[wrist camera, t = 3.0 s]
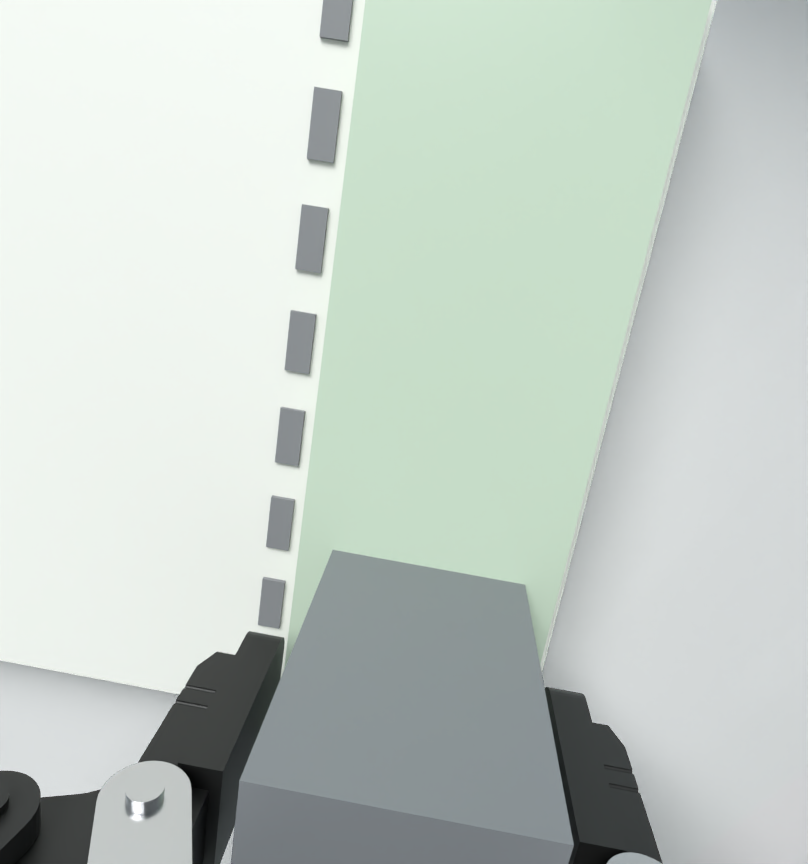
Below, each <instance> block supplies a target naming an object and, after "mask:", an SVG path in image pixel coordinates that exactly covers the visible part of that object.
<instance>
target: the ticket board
mask: <svg viewBox="0 0 808 864" xmlns="http://www.w3.org/2000/svg"><path fill="white" fill-rule="evenodd" d="M716 3H717V0H712V2H711V5H710V9H709V13H708V17H707V21H706V25H705V29H704V33H703V36H702V40H701V44H700V48H699V52H698V56H697V60H696V63H695V67H694V71H693V75H692V79H691V83H690V87H689V91H688V94H687V98H686V102H685V106H684V110H683V114H682V118H681V122H680V125H679V129H678V133H677V137H676V141H675V145H674V149H673V152H672V156H671V160H670V164H669V168H668V172H667V176H666V180H665V183H664V187H663V191H662V195H661V199H660V203H659V207H658V211H657V214H656V218H655V222H654V226H653V230H652V234H651V238H650V241H649V245H648V249H647V253H646V257H645V261H644V265H643V269H642V272H641V276H640V280H639V284H638V288H637V292H636V296H635V300H634V303H633V307H632V311H631V315H630V319H629V323H628V327H627V330H626V334H625V338H624V342H623V346H622V350H621V354H620V358H619V361H618V365H617V369H616V373H615V377H614V381H613V385H612V389H611V392H610V396H609V400H608V404H607V408H606V412H605V416H604V419H603V423H602V427H601V431H600V435H599V439H598V443H597V447H596V450H595V454H594V458H593V462H592V466H591V470H590V474H589V478H588V481H587V485H586V489H585V493H584V497H583V501H582V505H581V508H580V512H579V516H578V520H577V524H576V528H575V532H574V536H573V539H572V543H571V547H570V551H569V555H568V559H567V563H566V567H565V570H564V574H563V578H562V582H561V586H560V590H559V594H558V597H557V601H556V605H555V609H554V613H553V617H552V621H551V625H550V628H549V632H548V636H547V640H546V644H545V648H544V652H543V656H542V659H541V663H540V667H541V672H542V671H543V667H544V663H545V659H546V655H547V652H548V648H549V644H550V640H551V636H552V632H553V629H554V625H555V621H556V617H557V613H558V609H559V606H560V602H561V598H562V594H563V590H564V586H565V583H566V579H567V575H568V571H569V567H570V563H571V559H572V556H573V552H574V548H575V544H576V540H577V536H578V533H579V529H580V525H581V521H582V517H583V513H584V510H585V506H586V502H587V498H588V494H589V490H590V487H591V483H592V479H593V475H594V471H595V467H596V464H597V460H598V456H599V452H600V448H601V444H602V441H603V437H604V433H605V429H606V425H607V421H608V417H609V414H610V410H611V406H612V402H613V398H614V394H615V391H616V387H617V383H618V379H619V375H620V371H621V368H622V364H623V360H624V356H625V352H626V348H627V345H628V341H629V337H630V333H631V329H632V325H633V322H634V318H635V314H636V310H637V306H638V302H639V299H640V295H641V291H642V287H643V283H644V279H645V275H646V272H647V268H648V264H649V260H650V256H651V252H652V249H653V245H654V241H655V237H656V233H657V229H658V226H659V222H660V218H661V214H662V210H663V206H664V203H665V199H666V195H667V191H668V187H669V183H670V180H671V176H672V172H673V168H674V164H675V160H676V157H677V153H678V149H679V145H680V141H681V137H682V133H683V130H684V126H685V122H686V118H687V114H688V110H689V107H690V103H691V99H692V95H693V91H694V87H695V84H696V80H697V76H698V72H699V68H700V64H701V61H702V57H703V53H704V49H705V45H706V41H707V38H708V34H709V30H710V26H711V22H712V18H713V14H714V11H715V7H716ZM364 7H365V0H0V661H6V662H11V663H16V664H22V665H27V666H32V667H37V668H43V669H48V670H53V671H58V672H64V673H69V674H74V675H79V676H85V677H90V678H95V679H100V680H106V681H111V682H116V683H121V684H127V685H132V686H137V687H143V688H148V689H153V690H158V691H164V692H169V693H174V694H179V695H180V693H181V691H182V690H183V688H185V686H186V683H187V681H188V680H189V678H190V677H191V675H192V673H193V672H194V670H195V668H196V667H197V665H199V664H200V663H202V662H203V661H204V660H206V659H207V658H209V657H210V656H211V655H213V654H214V653H216V652H222V653H228V654H233V655H235V654H236V653H237V651H238V649H239V647H240V645H241V643H242V641H243V640H244V638H245V636H246V634H247V633H248V632H249V631H252V632H257V633H262V634H268V635H273V636H279V637H284V640H285V643H284V653H283V662H282V670H281V676H282V674H283V671H284V666H285V658H286V650H287V641H288V633H289V625H290V617H291V608H292V600H293V592H294V584H295V575H296V567H297V559H298V551H299V543H300V534H301V526H302V518H303V510H304V501H305V493H306V485H307V477H308V468H309V460H310V452H311V444H312V436H313V427H314V419H315V411H316V403H317V394H318V386H319V378H320V370H321V361H322V353H323V345H324V337H325V328H326V320H327V312H328V304H329V296H330V287H331V279H332V271H333V263H334V254H335V246H336V238H337V230H338V221H339V213H340V205H341V197H342V189H343V180H344V172H345V164H346V156H347V147H348V139H349V131H350V123H351V114H352V106H353V98H354V90H355V82H356V73H357V65H358V57H359V49H360V40H361V32H362V24H363V16H364ZM280 679H281V678H280Z"/></svg>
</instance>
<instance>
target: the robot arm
mask: <svg viewBox="0 0 808 864" xmlns="http://www.w3.org/2000/svg"><path fill="white" fill-rule="evenodd" d="M284 643H285V640H284V637H279V636H273V635H268V634H262V633H257V632H252V631H249V632H248V633H247V634H246V636H245V638H244V640H243V641H242V643H241V645H240V647H239V649H238V651H237V653H236V654H235V655H233V654H228V653H222V652H216V653H214V654H213V655H211V656H210V657H209V658H207V659H206V660H204V661H203V662H202V663H200V664H199V665H197V667H196V668H195V670H194V672H193V673H192V675H191V677H190V678H189V680H188V681H187V683H186V686H185V688H183V690H182V691H181V693H180V695H179V696H178V698H177V699H176V703H175V704H173V706H172V708H171V709H170V711H169V713H168V714H167V716H166V718H165V719H164V721H163V722H162V724H161V726H160V727H159V729H158V731H157V732H156V734H155V736H154V737H153V739H152V740H151V742H150V744H149V745H148V747H147V749H146V750H145V752H144V754H143V755H142V757H141V759H140V760H139V762H138V763H136V764H132V765H130V766H128V767H125V768H123V769H122V770H120V771H118V772H117V773H115V774H114V775H113V776H111V777H110V778H109V779H108V780H107V781H106V783H105V784H104V785H103V787H102V788H101V789H100V790H97V791H93V792H89V793H84V794H76V795H65V796H53V797H42V798H40V789H39V786H38V785H37V783H36V782H35V781H34V780H33V779H32V778H31V777H29V776H28V775H26V774H23V773H20V772H15V771H0V864H220V862H221V859H222V857H223V854H224V852H225V849H226V846H227V844H228V841H229V838H230V836H231V833H232V831H233V828H234V825H235V819H236V809H237V799H238V790H239V780H240V778H241V775H242V773H243V771H244V768H245V766H246V763H247V761H248V758H249V756H250V753H251V751H252V748H253V746H254V743H255V741H256V738H257V736H258V733H259V731H260V728H261V726H262V723H263V721H264V719H265V716H266V714H267V711H268V709H269V706H270V704H271V701H272V699H273V696H274V694H275V691H276V689H277V686H278V684H279V681H280V678H281V670H282V662H283V653H284ZM545 694H546V699H547V704H548V710H549V715H550V720H551V726H552V731H553V736H554V742H555V747H556V752H557V758H558V763H559V768H560V774H561V779H562V785H563V790H564V795H565V801H566V806H567V811H568V817H569V822H570V827H571V833H572V838H573V843H574V847H573V850H572V853H571V856H570V860H569V863H568V864H663V863H662V860H661V857H660V854H659V851H658V848H657V845H656V842H655V839H654V835H653V832H652V829H651V826H650V823H649V820H648V817H647V814H646V811H645V808H644V804H643V801H642V798H641V795H640V793H638V786H637V783H636V780H635V777H634V774H632V767H631V764H630V761H629V758H628V755H627V752H626V749H625V747H624V745H623V744H622V743H621V741H620V740H619V739H618V738H617V736H616V735H615V734H614V732H613V731H612V730H611V729H610V727H609V726H608V725H602V724H597V723H592V720H591V716H590V713H589V709H588V705H587V702H586V698H585V696H584V695H583V694H581V693H576V692H570V691H565V690H559V689H554V688H549V687H546V688H545Z"/></svg>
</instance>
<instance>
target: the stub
mask: <svg viewBox="0 0 808 864" xmlns="http://www.w3.org/2000/svg"><path fill="white" fill-rule="evenodd" d="M711 2H712V0H365V7H364V16H363V24H362V32H361V40H360V49H359V57H358V65H357V73H356V82H355V90H354V98H353V106H352V114H351V123H350V131H349V139H348V147H347V156H346V164H345V172H344V180H343V189H342V197H341V205H340V213H339V221H338V230H337V238H336V246H335V254H334V263H333V271H332V279H331V287H330V296H329V304H328V312H327V320H326V328H325V337H324V345H323V353H322V361H321V370H320V378H319V386H318V394H317V403H316V411H315V419H314V427H313V436H312V444H311V452H310V460H309V468H308V477H307V485H306V493H305V501H304V510H303V518H302V526H301V534H300V543H299V551H298V559H297V567H296V575H295V584H294V592H293V600H292V608H291V617H290V625H289V633H288V641H287V650H286V658H285V666H284V671H283V674H282V676H281V679H280V681H279V684H278V686H277V689H276V691H275V694H274V696H273V699H272V701H271V704H270V706H269V709H268V711H267V714H266V716H265V719H264V721H263V723H262V726H261V728H260V731H259V733H258V736H257V738H256V741H255V743H254V746H253V748H252V751H251V753H250V756H249V758H248V761H247V763H246V766H245V768H244V771H243V773H242V775H241V778H240V780H239V790H238V799H237V809H236V819H235V828H234V838H233V847H232V857H231V864H568V863H569V860H570V856H571V853H572V850H573V847H574V843H573V838H572V833H571V827H570V822H569V817H568V811H567V806H566V801H565V795H564V790H563V785H562V779H561V774H560V768H559V763H558V758H557V752H556V747H555V742H554V736H553V731H552V726H551V720H550V715H549V710H548V704H547V699H546V694H545V688H544V683H543V677H542V672H541V667H540V663H541V659H542V656H543V652H544V648H545V644H546V640H547V636H548V632H549V628H550V625H551V621H552V617H553V613H554V609H555V605H556V601H557V597H558V594H559V590H560V586H561V582H562V578H563V574H564V570H565V567H566V563H567V559H568V555H569V551H570V547H571V543H572V539H573V536H574V532H575V528H576V524H577V520H578V516H579V512H580V508H581V505H582V501H583V497H584V493H585V489H586V485H587V481H588V478H589V474H590V470H591V466H592V462H593V458H594V454H595V450H596V447H597V443H598V439H599V435H600V431H601V427H602V423H603V419H604V416H605V412H606V408H607V404H608V400H609V396H610V392H611V389H612V385H613V381H614V377H615V373H616V369H617V365H618V361H619V358H620V354H621V350H622V346H623V342H624V338H625V334H626V330H627V327H628V323H629V319H630V315H631V311H632V307H633V303H634V300H635V296H636V292H637V288H638V284H639V280H640V276H641V272H642V269H643V265H644V261H645V257H646V253H647V249H648V245H649V241H650V238H651V234H652V230H653V226H654V222H655V218H656V214H657V211H658V207H659V203H660V199H661V195H662V191H663V187H664V183H665V180H666V176H667V172H668V168H669V164H670V160H671V156H672V152H673V149H674V145H675V141H676V137H677V133H678V129H679V125H680V122H681V118H682V114H683V110H684V106H685V102H686V98H687V94H688V91H689V87H690V83H691V79H692V75H693V71H694V67H695V63H696V60H697V56H698V52H699V48H700V44H701V40H702V36H703V33H704V29H705V25H706V21H707V17H708V13H709V9H710V5H711Z"/></svg>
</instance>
